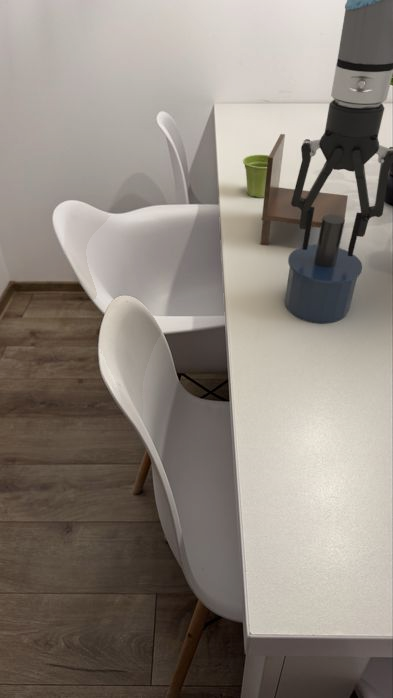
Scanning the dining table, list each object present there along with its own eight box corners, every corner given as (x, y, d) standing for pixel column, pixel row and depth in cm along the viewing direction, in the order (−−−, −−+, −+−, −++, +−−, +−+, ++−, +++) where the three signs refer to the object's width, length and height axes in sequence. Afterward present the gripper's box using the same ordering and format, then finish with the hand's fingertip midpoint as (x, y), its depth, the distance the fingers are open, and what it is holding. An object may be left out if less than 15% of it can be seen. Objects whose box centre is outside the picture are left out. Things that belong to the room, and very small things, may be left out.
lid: (362, 255, 88) (374, 208, 82) (359, 292, 79) (373, 241, 73) (292, 245, 90) (299, 199, 85) (282, 280, 81) (289, 230, 75)
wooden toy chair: (341, 223, 115) (359, 141, 103) (337, 255, 104) (356, 166, 91) (271, 214, 119) (280, 133, 107) (259, 244, 107) (268, 157, 95)
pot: (349, 293, 93) (359, 253, 87) (346, 328, 84) (357, 287, 79) (289, 283, 95) (295, 244, 90) (280, 317, 87) (286, 276, 81)
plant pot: (251, 203, 124) (254, 169, 119) (234, 189, 131) (236, 157, 125) (282, 197, 127) (287, 164, 122) (264, 184, 134) (267, 152, 128)
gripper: (283, 102, 67) (266, 251, 81) (435, 114, 62) (388, 268, 77) (290, 90, 72) (273, 231, 87) (430, 100, 68) (387, 247, 83)
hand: (327, 248), depth 82 cm, fingers open, 7 cm apart
